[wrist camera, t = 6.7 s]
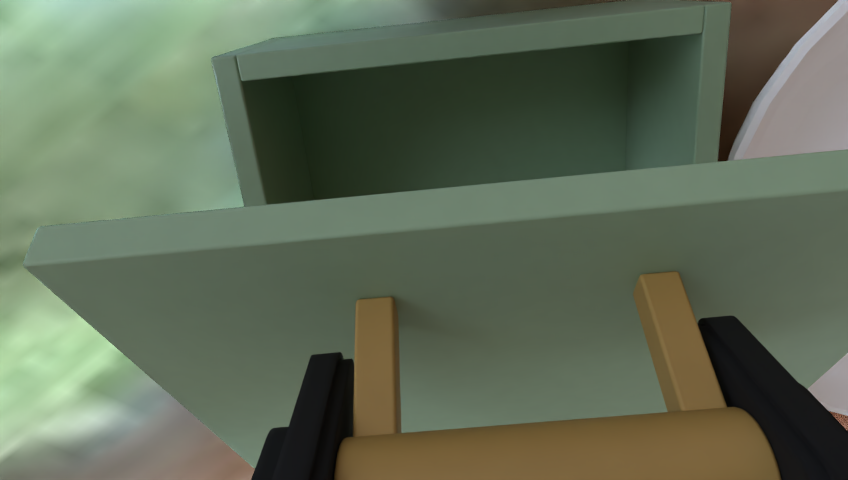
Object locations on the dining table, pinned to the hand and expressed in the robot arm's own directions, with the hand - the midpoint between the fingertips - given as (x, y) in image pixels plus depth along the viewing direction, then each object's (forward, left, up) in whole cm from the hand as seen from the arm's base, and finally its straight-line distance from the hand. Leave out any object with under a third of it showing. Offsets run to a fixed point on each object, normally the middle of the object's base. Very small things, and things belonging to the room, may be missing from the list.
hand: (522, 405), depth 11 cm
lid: (0, -3, -5) cm, 6 cm away
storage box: (0, -3, -17) cm, 18 cm away
